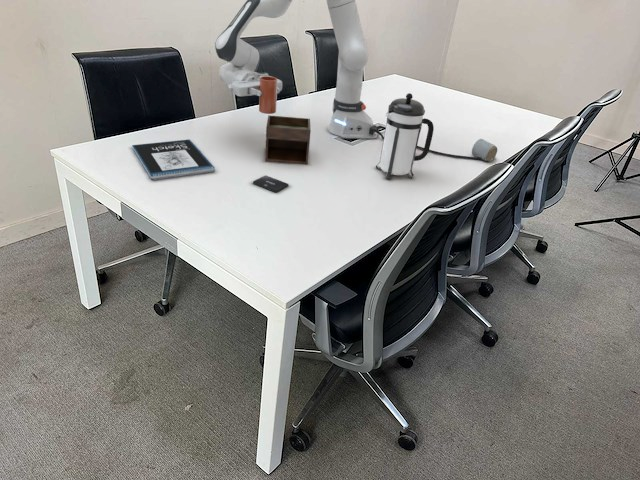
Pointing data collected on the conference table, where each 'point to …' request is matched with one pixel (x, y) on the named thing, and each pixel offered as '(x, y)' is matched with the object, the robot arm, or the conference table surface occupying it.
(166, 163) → the sketchbook
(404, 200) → the conference table surface
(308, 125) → the storage cube
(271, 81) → the tumbler
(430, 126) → the coffee press
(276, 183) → the solid state drive
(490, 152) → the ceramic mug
